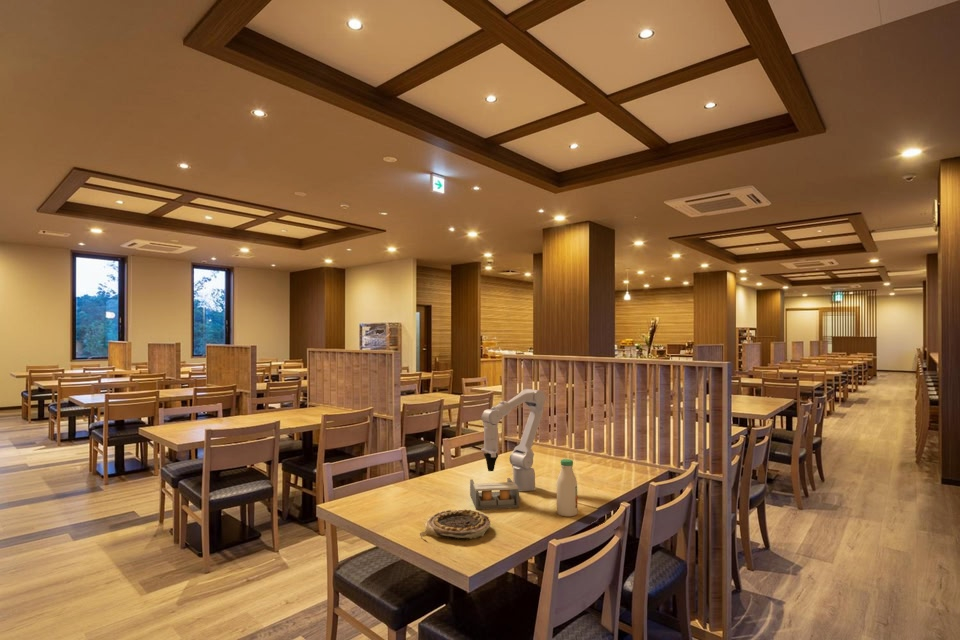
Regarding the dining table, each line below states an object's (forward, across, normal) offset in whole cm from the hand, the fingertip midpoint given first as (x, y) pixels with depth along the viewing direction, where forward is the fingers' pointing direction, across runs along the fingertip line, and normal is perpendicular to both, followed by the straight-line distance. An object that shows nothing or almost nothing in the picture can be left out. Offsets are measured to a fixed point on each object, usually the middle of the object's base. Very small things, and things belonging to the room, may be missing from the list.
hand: (490, 470), depth 210 cm
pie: (+11, +36, -17) cm, 42 cm away
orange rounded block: (+9, +12, +4) cm, 15 cm away
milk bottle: (+11, +25, +25) cm, 37 cm away
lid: (+4, +11, 0) cm, 12 cm away
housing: (+10, +7, 0) cm, 13 cm away
